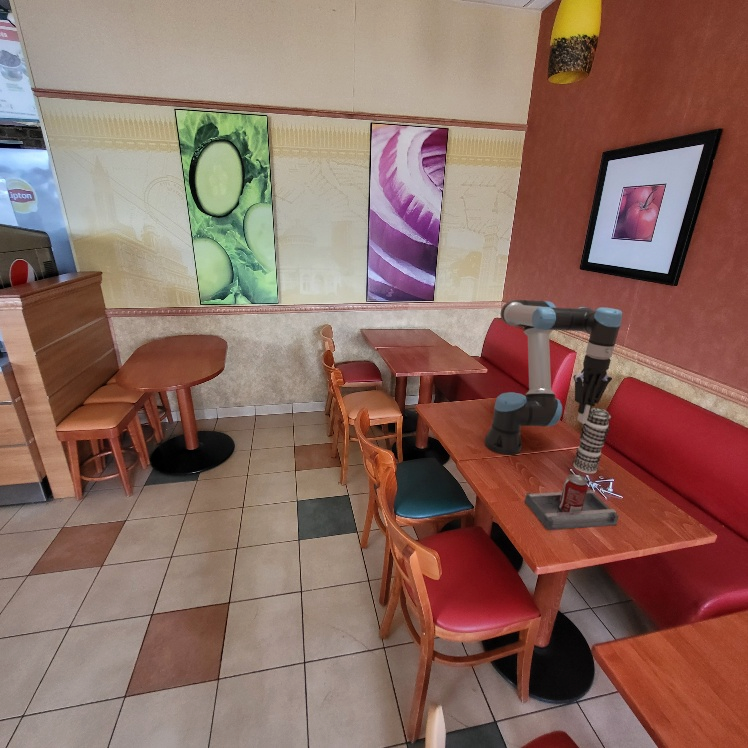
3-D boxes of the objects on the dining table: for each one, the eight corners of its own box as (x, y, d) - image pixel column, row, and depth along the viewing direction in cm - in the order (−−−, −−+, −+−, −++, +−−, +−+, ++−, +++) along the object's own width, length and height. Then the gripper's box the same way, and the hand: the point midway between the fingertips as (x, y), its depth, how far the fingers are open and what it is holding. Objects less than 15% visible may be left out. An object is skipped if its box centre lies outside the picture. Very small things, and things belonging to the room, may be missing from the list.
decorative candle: (599, 476, 155) (615, 417, 147) (573, 470, 158) (587, 412, 150) (596, 464, 163) (612, 408, 155) (571, 459, 166) (585, 403, 158)
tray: (524, 501, 138) (526, 491, 136) (587, 497, 142) (590, 487, 141) (547, 530, 125) (550, 519, 124) (616, 524, 129) (619, 514, 128)
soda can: (583, 518, 129) (592, 487, 125) (561, 515, 130) (569, 483, 126) (577, 505, 136) (585, 475, 132) (556, 502, 137) (563, 471, 133)
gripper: (587, 359, 126) (571, 427, 134) (624, 359, 129) (605, 426, 136) (572, 352, 133) (558, 417, 141) (607, 353, 135) (591, 416, 143)
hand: (581, 421), depth 139 cm, fingers closed
